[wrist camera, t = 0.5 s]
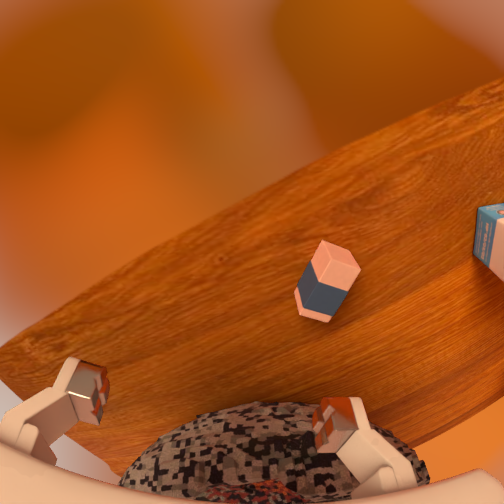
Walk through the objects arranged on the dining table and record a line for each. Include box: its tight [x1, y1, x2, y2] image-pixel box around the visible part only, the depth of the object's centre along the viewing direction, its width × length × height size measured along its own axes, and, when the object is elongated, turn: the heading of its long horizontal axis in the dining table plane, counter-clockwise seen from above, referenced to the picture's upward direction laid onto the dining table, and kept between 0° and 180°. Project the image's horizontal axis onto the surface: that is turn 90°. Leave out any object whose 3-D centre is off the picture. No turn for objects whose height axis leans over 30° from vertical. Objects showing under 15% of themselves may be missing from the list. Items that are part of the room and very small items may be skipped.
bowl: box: [117, 401, 430, 504], centre depth 28 cm, size 31×31×15 cm
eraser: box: [294, 240, 361, 323], centre depth 24 cm, size 5×3×3 cm, turn 158°
